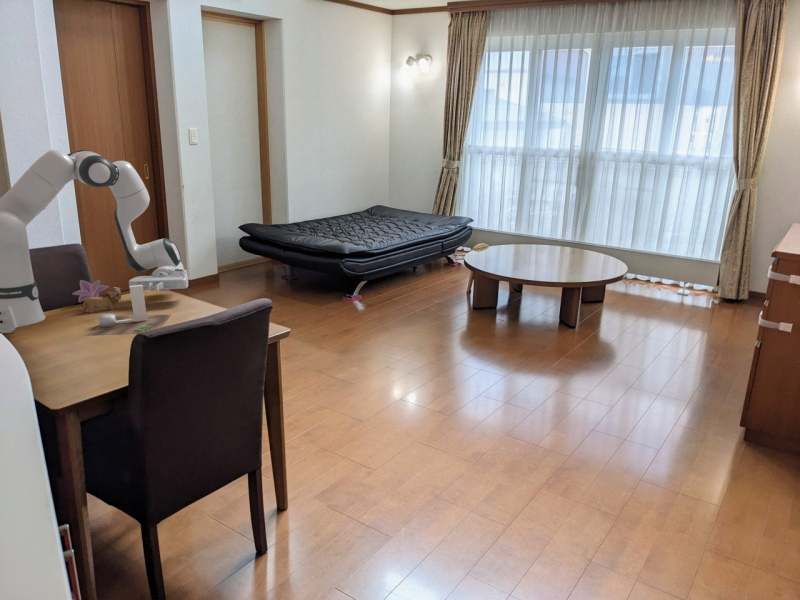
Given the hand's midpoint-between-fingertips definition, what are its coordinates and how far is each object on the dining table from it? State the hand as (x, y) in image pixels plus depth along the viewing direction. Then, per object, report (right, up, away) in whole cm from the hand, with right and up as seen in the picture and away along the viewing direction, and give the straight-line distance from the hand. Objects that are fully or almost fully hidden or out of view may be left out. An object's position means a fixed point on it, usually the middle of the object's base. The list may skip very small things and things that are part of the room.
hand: (153, 288), depth 212 cm
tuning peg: (-4, -12, -13) cm, 18 cm away
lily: (-29, -5, +15) cm, 34 cm away
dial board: (-1, -14, -14) cm, 20 cm away
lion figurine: (-19, -9, +2) cm, 21 cm away
